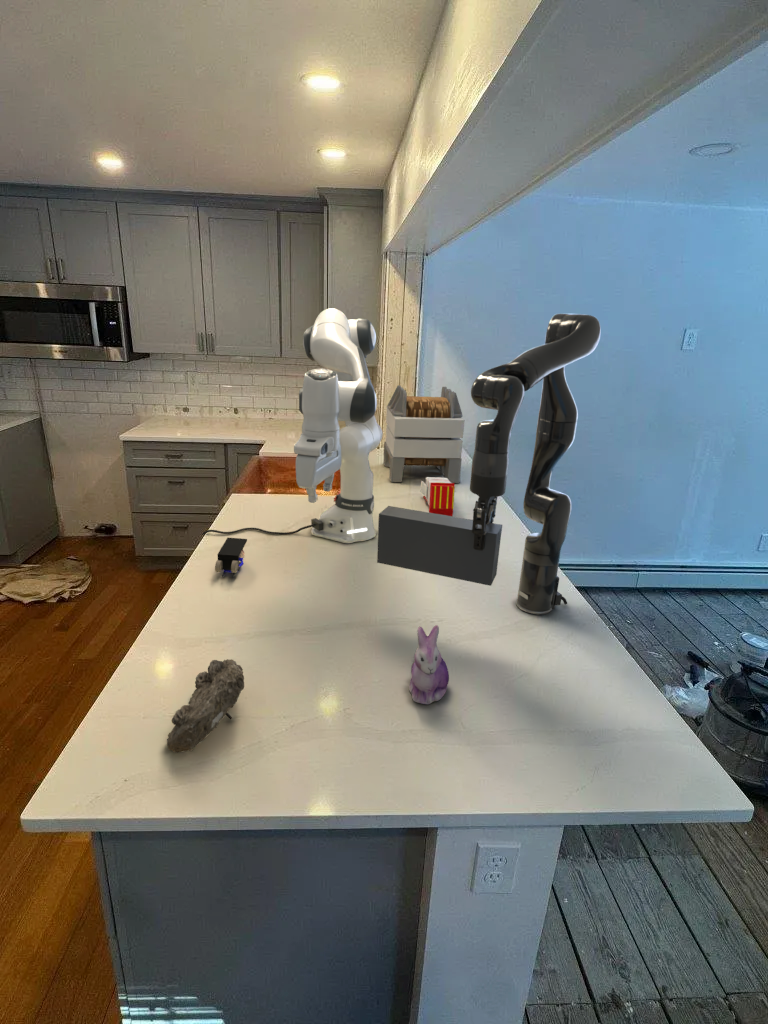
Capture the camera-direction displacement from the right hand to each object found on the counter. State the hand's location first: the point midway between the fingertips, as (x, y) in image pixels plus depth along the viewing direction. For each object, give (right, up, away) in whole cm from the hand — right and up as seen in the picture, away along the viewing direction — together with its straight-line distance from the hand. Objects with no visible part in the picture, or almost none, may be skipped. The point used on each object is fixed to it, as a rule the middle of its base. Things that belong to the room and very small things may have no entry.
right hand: (481, 543), depth 125 cm
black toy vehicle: (-67, -10, +42) cm, 79 cm away
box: (-10, -6, +6) cm, 13 cm away
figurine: (-12, -30, -7) cm, 34 cm away
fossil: (-54, -32, -17) cm, 65 cm away
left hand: (-37, +11, +13) cm, 41 cm away
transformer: (-4, +26, +150) cm, 152 cm away
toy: (0, +9, +104) cm, 105 cm away
